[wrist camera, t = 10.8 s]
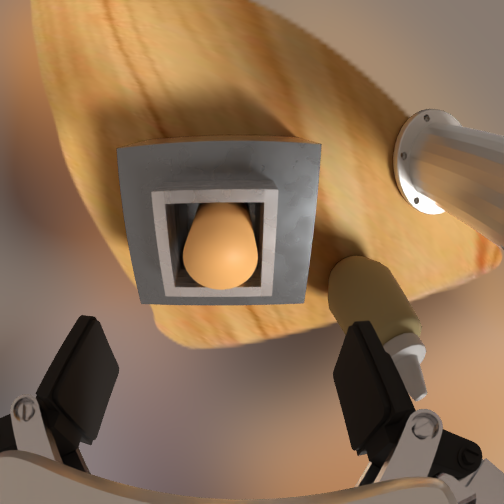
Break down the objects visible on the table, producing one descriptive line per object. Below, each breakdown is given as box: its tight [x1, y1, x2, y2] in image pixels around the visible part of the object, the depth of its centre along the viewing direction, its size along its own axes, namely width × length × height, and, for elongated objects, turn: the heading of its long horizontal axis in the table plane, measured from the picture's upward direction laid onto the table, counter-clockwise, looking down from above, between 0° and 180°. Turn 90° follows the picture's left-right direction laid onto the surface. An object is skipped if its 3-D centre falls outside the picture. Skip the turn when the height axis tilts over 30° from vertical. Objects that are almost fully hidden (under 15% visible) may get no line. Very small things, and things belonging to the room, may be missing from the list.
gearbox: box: [117, 135, 321, 305], centre depth 22 cm, size 14×13×10 cm
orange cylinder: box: [183, 202, 258, 290], centre depth 20 cm, size 4×4×9 cm
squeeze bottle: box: [328, 255, 427, 401], centre depth 24 cm, size 8×8×18 cm
